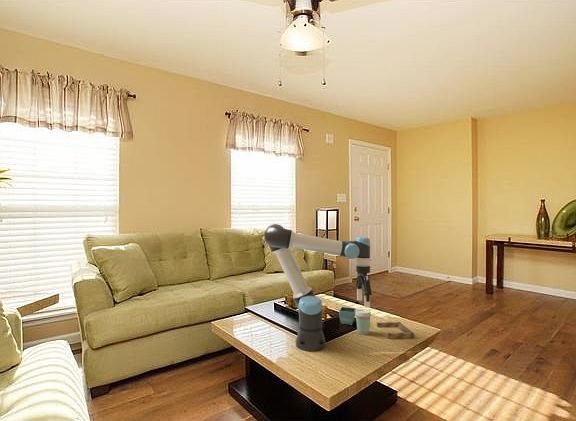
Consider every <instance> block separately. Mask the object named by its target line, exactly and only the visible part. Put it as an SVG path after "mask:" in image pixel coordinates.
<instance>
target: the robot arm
mask: <svg viewBox="0 0 576 421" xmlns="http://www.w3.org/2000/svg"><path fill="white" fill-rule="evenodd" d="M263 233H264V235H263V237H264V241H265V243H266V244H267V245H268V247H269V249H270V252H271V253H273V254H275V256H276V258H277V260H278V262H279V265H280V267H281V269H282V271H283V273H284V275H285V277H286V279H287V282H288V284H289V286H290V288H291V290H292V292H293V295H292V298H293V301H294V303H295V305H296V307H297V310H298V331H297V335H296V337H295V346H296V348H298V349H299V350H300V351H301V350H302V351H305V352H319V351H321V350H323V349H325V348H326V338H325V335H324V332H323V302H322V299H321V298H319V297H317V296H316V294H315V292H314V289H313V288H312V287H310V286H308V284H307V281H306V279H305V276H304V275H303V272H302V271H301V268H300V266H299V265H298V262H297V260H296V258H295V255H294V254H293V252H292V249H291V248H294V249H300V250H306V251H310V252H316V253H321V254H328V255H334V256H338V257H339V256H340V257H344V258H347V259H349V260H351V259H353V260H354V259H355V265H356V266H355V272H356V273H357V276H356V283H355V287H356V300H357V301H361V302H362V301H363V296H364V308H365V309H366V308H368V309H370V308H371V296H372V288H371V281H370V275H368V274H370V273H371V266H370V265H371V261H372V259H371V239H370V238H369V237H366V236H365V237H364V236H359V237H358V236H357V237H356V238H355V240H335V239H331V238H326V237H325V238H324V237H320V236H314V235H308V234H303V233H298V232H294V230H292V229H287V228H284V227H283V226H282V225H280V224H277V223H274V224H270V225H269V226H268V227H267V228H266V229H265V231H264V232H263ZM363 291H364V294H363Z"/></svg>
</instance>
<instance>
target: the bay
mask: <svg viewBox="0 0 576 421" xmlns="http://www.w3.org/2000/svg"><path fill="white" fill-rule="evenodd" d="M376 327H377V328H397V327H398V328H399V330H401V331H402V332H387V338H388V339H389V340H390V339H392V340H393V339H396V340H397V339H414V335H415V333H414V332H413V331H412V330H410V329H409V328H408V327H406V326H405V325H404V324H403V323H401V322H400V321H386V322H385V321H381V322H380V321H379V322H376Z"/></svg>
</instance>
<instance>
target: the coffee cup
mask: <svg viewBox="0 0 576 421" xmlns="http://www.w3.org/2000/svg"><path fill="white" fill-rule="evenodd" d="M371 317H372V314H371V310H368V309H366V308H365V309H364V308H363V309H361V308H359V309H356V312H355V320H356V329H357V333H358V334H359V335H363V336H366V335H369V331H370V324H371Z"/></svg>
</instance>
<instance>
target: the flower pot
mask: <svg viewBox="0 0 576 421" xmlns="http://www.w3.org/2000/svg"><path fill="white" fill-rule="evenodd" d="M356 310H357V308H355V307H348V306H341V307H340V308H339V311H338V314H339V322H340V323H341V324H349V325H351V326H353V323H354V321H355V319H356V315H355V313H356Z"/></svg>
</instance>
